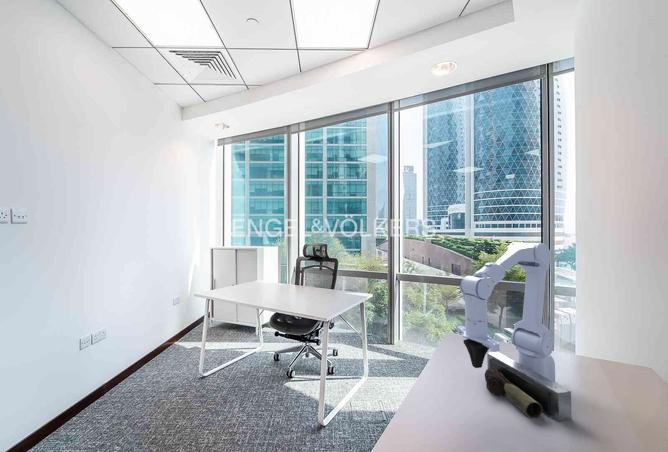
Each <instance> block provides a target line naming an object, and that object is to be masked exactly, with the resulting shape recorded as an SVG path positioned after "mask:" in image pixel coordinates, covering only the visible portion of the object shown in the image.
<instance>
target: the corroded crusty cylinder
mask: <svg viewBox="0 0 668 452" xmlns="http://www.w3.org/2000/svg"><path fill="white" fill-rule="evenodd" d="M484 378H485V382H486V389H487V390H488V391H489V393H491V395H493V396H497V397H505V398H507V399H509V400H510V401H511V402H512V403H513V404H514V405H515V406H516V407H518V409H520V410H521V411H522V412H523V413H524V414H525V415H526V416H527V417H529V418H530V419H535V418H540V417H541V415H542V414H543V413H542V412H543V409H542V406H541V405H540V404H539V403H538V402H537V401H535V400H534V399H532V398H531V397H530V396H528V395H527V394H526V393H524V392H523V391H522V390H520V389H519V388H518V387H516V386H515V385H514V384H512V383H510V382H509V381H508V380H507V379H506V378H505V377H504V376H503V374H502V373H501V372H498V370H493V369H492V370H491V369H488V368H487V369H486V370H485V372H484Z"/></svg>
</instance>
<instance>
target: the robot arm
mask: <svg viewBox="0 0 668 452" xmlns="http://www.w3.org/2000/svg"><path fill="white" fill-rule="evenodd" d="M550 263H551V250H550V249H549V247H548V246H547V244H545V243H544V242H539V243H537V242H536V243H534V242H518V241H513V242H511V243H510V244H509V245H507V246H506V252H504V253H503V254H502V255H501V256H500V257H499V258H498V259H497V260H496V261H495V262H486V263H485V264H484V266H483V267H481V268H480V269H479V270H477V271H475V272H474V274H473V275H467V276H465V277H464V278H462V280H461V281H460V285H459V290H460V292H461V294H462V299H463V301H464V323H465V324H464V325H458V326H456V328H457V329H456V330H457V331H456V332H457V333H458V334H461V335H462V338H464V339H463V344H464V346H465V347H466V350H467V352H468V354H469V358H470V362H471V365H472V367H473V368H475V369H480V368H482V367H483V364H484V360H485V357H486V356H487V355H486V354H487V353H488V352H489V350H490V351H491V352H500V343H498V342H497V341H496V340H494V339H493V338H492V337H491V336H490V335H489V334H488V333H489V332H488V331H489V329H488V327H489V325H488V323H489V322H488V298H490V297H491V295H492V293H493V290H494V288H495V286H496V285H497V284H499V283H500V282H501V281H502V280H503V279H504V278H505V276H506V273H505V272H506V271H508V270H510V269H511V268H512V267H514V266H515V265H517V266H519V267H520V268H522V269H523V270H524V271H525V282H524V284H525V285H524V294H523V295H524V297H523V308H522V319H521V320H519V321H516V322H515V323H514V327H513V331H512V332H511V342H512V344H513V345H514V346H515V350H517V351H518V353H517V354H518V363H520V364H521V365H523V366H525V367H527V368H529V369H531V370H533V371H534V372H536V373H538V374H540V375H542V376H544V377H546V378H547V379H549V380H551V381H553V382H555V383H557V384H559V383H558V381H556V364H555V360H554V357H553V356H552V355H551V354H552V353H553V350H554V342H553V339H552V338H553V335H552V332H551V331H550V329H548V328H547V327H546V325H544V324H543V315H544V302H545V292H546V291H545V289H546V276H547V273H546V272H547V271H549V270H550Z"/></svg>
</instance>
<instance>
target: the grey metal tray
mask: <svg viewBox="0 0 668 452" xmlns="http://www.w3.org/2000/svg"><path fill="white" fill-rule="evenodd" d="M486 354H487V355H486V356H487V358H486V359H487V362H486V363H487V369H491V370H492V369H493V370H498V372H501V373H502V374H503V376H504V377H505V378H506V379H507V380H508V381H509V382H510V383H512V384H514V385H515V386H516V387H518V388H519V389H520V390H522V391H523V392H524V393H526V394H527V395H528V396H530V397H531V398H532V399H534V400H535V401H537V402H538V403H539V404H540V405H541V406H542V409H543V412H542V414H543V415H545V416H547V417H549V418H550V417H551V418H553V419H554V420H556V421H558V422H563V421H568V420H572V419H573V418H572V417H573V416H572V411H573V410H572V391H571V390H569V389H568V388H566V387H564V386H562V385H560V384H559V383H558V382H557V383H558V384H557V383H555V382H556V381H555V382H553V381H551V380H549V379H547V378H546V377H544V376H542V375H540V374H538V373H536V372H534V371H533V370H531V369H529V368H527V367H525V366H523V365H521V364H520V363H519V361H516V360H514V359H512V358H510V357H508V356H507V355H504V354H503V353H501V352H500V351H497V352H492V351H491V352H487V353H486Z"/></svg>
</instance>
